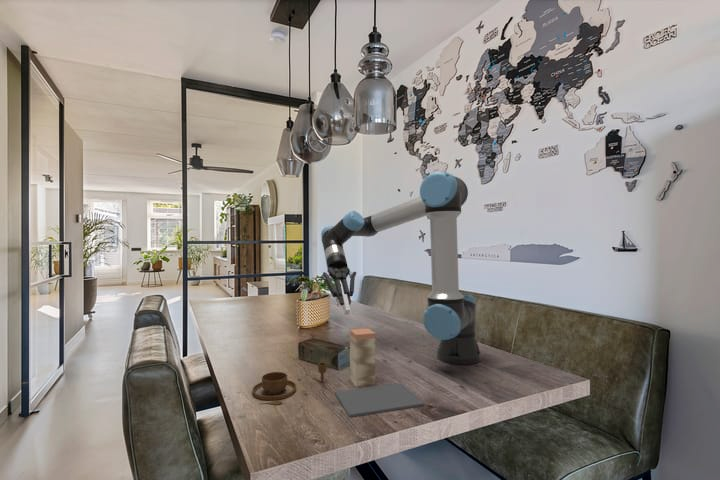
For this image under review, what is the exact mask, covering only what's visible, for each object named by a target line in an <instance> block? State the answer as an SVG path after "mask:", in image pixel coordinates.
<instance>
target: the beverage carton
mask: <svg viewBox="0 0 720 480" xmlns="http://www.w3.org/2000/svg"><path fill="white" fill-rule="evenodd" d="M297 346H298V347H297V349H298V354H297V355H298V359H300V360H303V361H306V362H310V363H313V364H317V365H318V364H319V363H326V368H329V369H333V370H336V371H337V370H338V371H339V370H342V369H345V368H346V367H348V366H350V346H347V345H344V344H339V343H335V342H331V341H327V340H323V339H319V338H314V337H312V338H309V339H305V340H303V341H299V342H298V345H297Z"/></svg>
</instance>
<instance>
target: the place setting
mask: <svg viewBox="0 0 720 480" xmlns="http://www.w3.org/2000/svg"><path fill="white" fill-rule="evenodd" d="M317 365H318V366H317V368H318V369H317V372H318V373H319V374H320V377H319V379H320V383H325V381H324V379H325V376H324V375H325V373H326V372H327V367H326V363H319V364H317ZM297 381H298V382H299V381H301V378H298V379H297ZM287 386H288V387H291V389H292V390H291V391H288V392H287V393H283V394H280V393H282V391H283V390H285V389H286V387H287ZM261 388H262V390H264V391H265V392H267V394H269V395H263V394H259V393H257V392H258V390H260V389H261ZM296 391H297V384H296V383H295V382H294V381H292V380H289V379H288V374H287V373H285V372H283V371H271V372H267V373H265V374H263V375H262V376H261V382H258V383H257V384H255V385H254V386H253V387H252V391H251V392H252V395H253V396H254V398H256V399H259V400H262V401H270V402H262V403H261V402H259V405H271V406H279V405H282V404H283V401H281V400H283V399H287V398H288V397H291V396H292V395H294V393H295V392H296ZM278 394H279V395H278Z"/></svg>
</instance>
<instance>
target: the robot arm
mask: <svg viewBox="0 0 720 480" xmlns="http://www.w3.org/2000/svg"><path fill="white" fill-rule="evenodd" d="M468 189H469V188H468V187H467V184H466V183H465V181H464V180H462V179H461V178H459V177H457V176H455V175H453V174H452V173H450V172H447V171H441V170H439V171H434V172H432V173H429V174H428V175H427V176H425V178H423V180H422V181H421V184H420V187H419V196H418V197H415V198H413V199H410V200H408V201H404V202H403V203H400V204H397V205H395V206H391V207H389V208H387V209H384V210H381V211H379V212H376V213H374V214H372V215H369V216H366V217H363V216H362V215H361V214H360V213H359V212H358V211H355V210H351V211H349V212H348V213H346V214H345V215H344V217H343V218H341V220H339V221H338V222H337V223H336V224H335V225H329V226H327V227H324V228H323V229H322V230H321V235H320V236H321V243H322V247H323V252H324V257H325V262H326V268H327V269H326V270H327V271H326V272H325V271H324V272H322V276H321V279H322V280H323V281H324V282H325V284H326V286H327V288H328V290H329V291H330V294H331V296H332V297H333V298H337V300H338V302H339V306H342V308H343V313H344V315H346V316H347V315H350V312H351V306H350V305H351V303H352V299H351V298H352V297H353V295H354V292H355V280H356V279H355V278H356V276H357V272H356V271H351V270H350V268H349V266H348V262H347V258H346V255H345V254H346V253H345V251H344V247H343V245H344V244H345V243H346V242H347V241H348V240H349V239H351V238H352V237H366V238H367V237H375V235H377V234H379V232H382V231H385V230H388V229H391V228H394V227H398V226H400V225H403V224H406V223H409V222H411V221H414V220H418V219H420V218H423V217H427V218H428V219H429V222H430V223H429V227H430V228H429V229H430V261H431V263H430V264H431V265H430V266H431V269H430V270H431V292H430V293H429V294H428V295H427V307H426V309H425V311H424V313H423V317H422V318H423V320H422V322H423V325H424V328H425V331H427V333H429V334H430V336H431V337H433V338H435V339H437V340H439V343H438V347H437V349H436V357H437V358H438V359H439V360H440V361H442V362H445V363H449V364H451V365H461V366H462V365H468V366H469V365H474V364H475V365H476V364H478V363H480V362H481V360H482V359H481V358H482V357H481V351H480V348H479V344H478V342H477V339H476V328H477V327H476V323H477V322H476V316H477V315H476V314H477V312H476V310H477V309H476V308H477V303H476V302H477V301H476V297H475V296H474V295H470V294H462V292H460V290H459V259H458V258H459V256H458V255H459V253H458V252H459V251H458V250H459V249H458V224H457V222H458V220H457V218H458V217H459V216H460V215H461V214H462V206H464V204H465V203H466V202H467V199H468V197H469V196H468V195H469V190H468ZM348 276H349V278H350V281H349V285H348V281H347V280H348V279H347V278H348ZM332 280H333V281H332Z"/></svg>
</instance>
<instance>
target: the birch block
mask: <svg viewBox="0 0 720 480" xmlns="http://www.w3.org/2000/svg"><path fill="white" fill-rule="evenodd" d="M349 347H350V365H349V380H350V381H351V383H352V384H353V385H354V387H362V386H363V387H364V386H369V385H375V384H376V332H374V331H373V330H371V329H370V328H358V329H357V328H356V329H350V330H349Z"/></svg>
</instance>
